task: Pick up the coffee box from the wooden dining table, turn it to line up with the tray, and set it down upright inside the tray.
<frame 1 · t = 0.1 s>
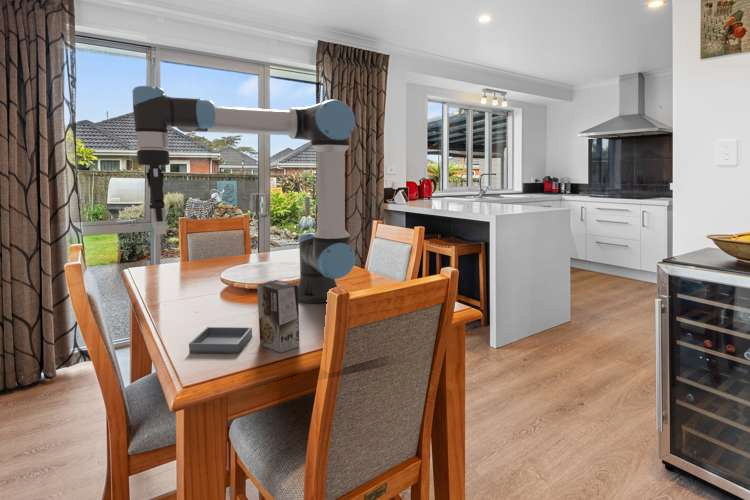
hand: (159, 231, 122), 28 cm above the table, fingers open, 13 cm apart
coffee box: (279, 346, 118), on the table
tray: (222, 344, 118), on the table
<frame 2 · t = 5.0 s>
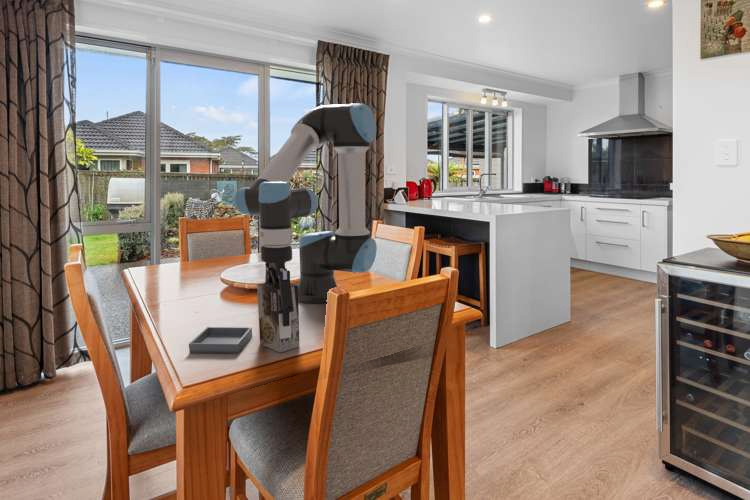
hand: (279, 330, 117), 4 cm above the table, fingers closed on coffee box, 10 cm apart
coffee box: (279, 345, 118), on the table, touching gripper
when the fingers open (6 cm above the table, at t = 13.4 s): coffee box drops 1 cm, resting on tray.
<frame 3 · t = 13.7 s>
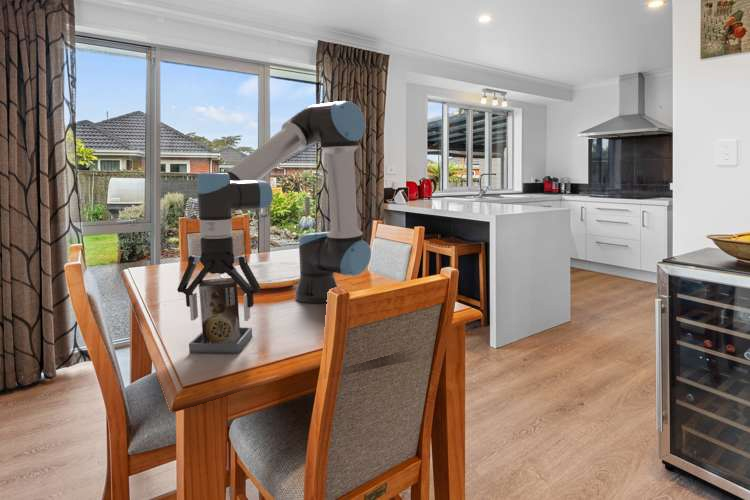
hand: (221, 319, 117), 7 cm above the table, fingers open, 13 cm apart
coffee box: (221, 342, 118), resting on tray
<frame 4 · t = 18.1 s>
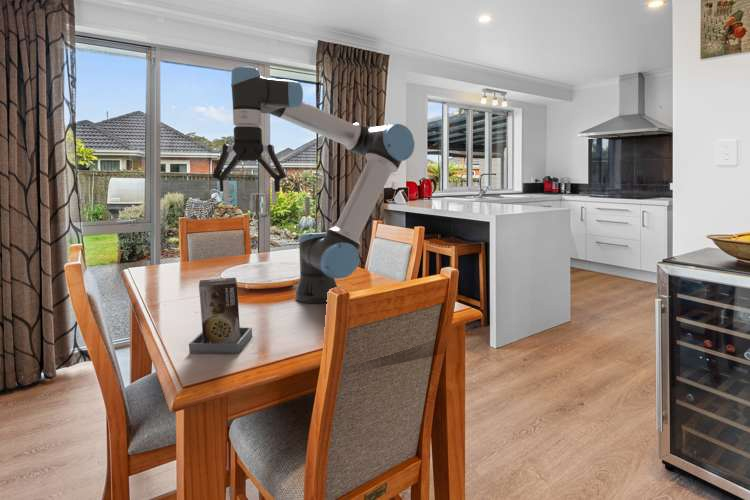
hand: (250, 203, 131), 35 cm above the table, fingers open, 13 cm apart
nothing on the table moved.
at the end: coffee box 0.1 cm from the tray (horizontally); coffee box tilted 0°; coffee box resting on tray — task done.
